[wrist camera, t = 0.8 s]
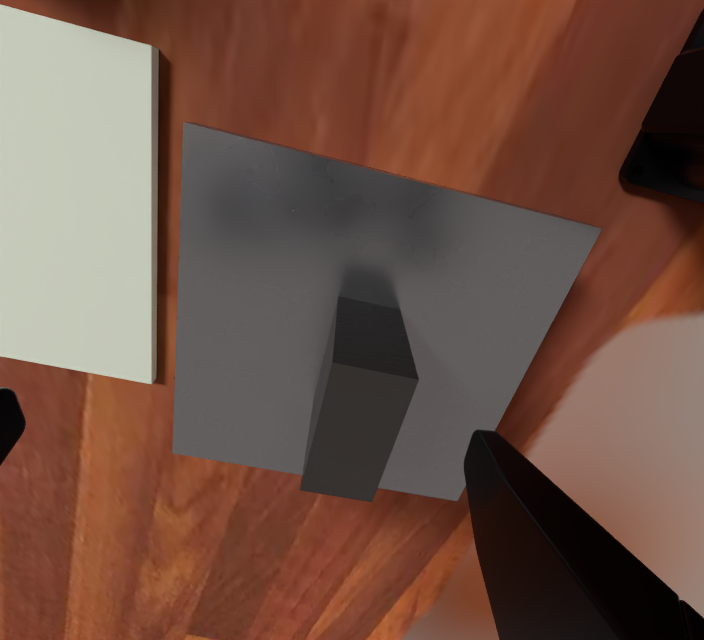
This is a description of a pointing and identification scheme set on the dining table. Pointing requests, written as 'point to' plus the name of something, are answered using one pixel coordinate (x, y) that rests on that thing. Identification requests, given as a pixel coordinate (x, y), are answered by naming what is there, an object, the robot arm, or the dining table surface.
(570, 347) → the dining table surface
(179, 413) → the lid
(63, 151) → the mat
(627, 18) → the dining table surface
